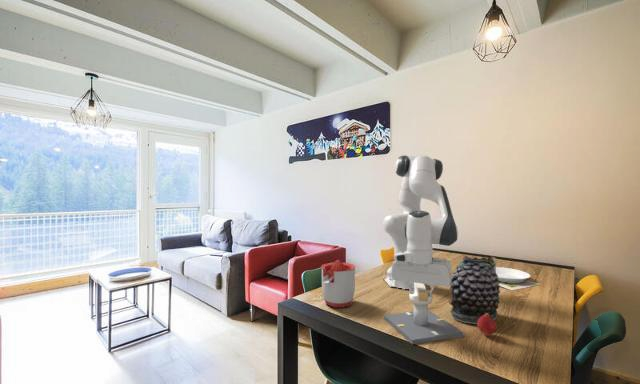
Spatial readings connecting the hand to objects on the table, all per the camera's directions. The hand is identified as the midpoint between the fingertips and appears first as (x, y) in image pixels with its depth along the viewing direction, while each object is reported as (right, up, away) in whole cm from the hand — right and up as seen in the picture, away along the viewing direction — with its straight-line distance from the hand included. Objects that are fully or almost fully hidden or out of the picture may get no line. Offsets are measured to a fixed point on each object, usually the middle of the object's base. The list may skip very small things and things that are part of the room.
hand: (420, 294), depth 103 cm
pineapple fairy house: (+25, -13, +11) cm, 31 cm away
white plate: (+70, -13, +63) cm, 95 cm away
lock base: (+1, -13, +4) cm, 14 cm away
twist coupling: (+1, -3, +4) cm, 5 cm away
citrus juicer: (-28, -14, +27) cm, 42 cm away
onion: (+22, -13, -3) cm, 26 cm away
